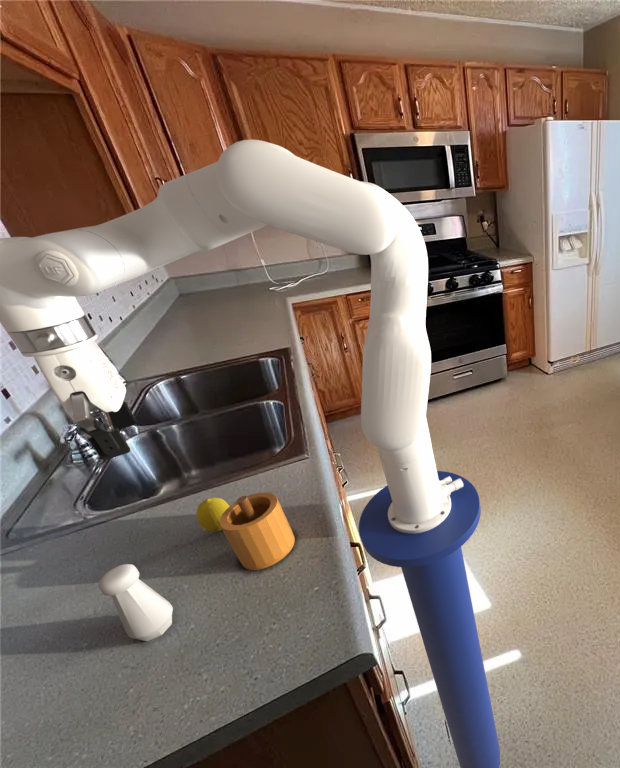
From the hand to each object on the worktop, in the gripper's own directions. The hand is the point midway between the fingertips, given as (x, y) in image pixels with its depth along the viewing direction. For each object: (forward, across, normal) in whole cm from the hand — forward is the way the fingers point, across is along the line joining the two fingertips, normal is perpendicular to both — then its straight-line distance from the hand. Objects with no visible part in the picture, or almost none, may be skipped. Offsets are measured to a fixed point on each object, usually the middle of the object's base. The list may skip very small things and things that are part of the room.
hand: (121, 440), depth 63 cm
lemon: (+28, +8, -4) cm, 30 cm away
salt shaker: (+28, -10, +6) cm, 31 cm away
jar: (+28, -4, -11) cm, 31 cm away
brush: (+28, -4, -11) cm, 30 cm away
